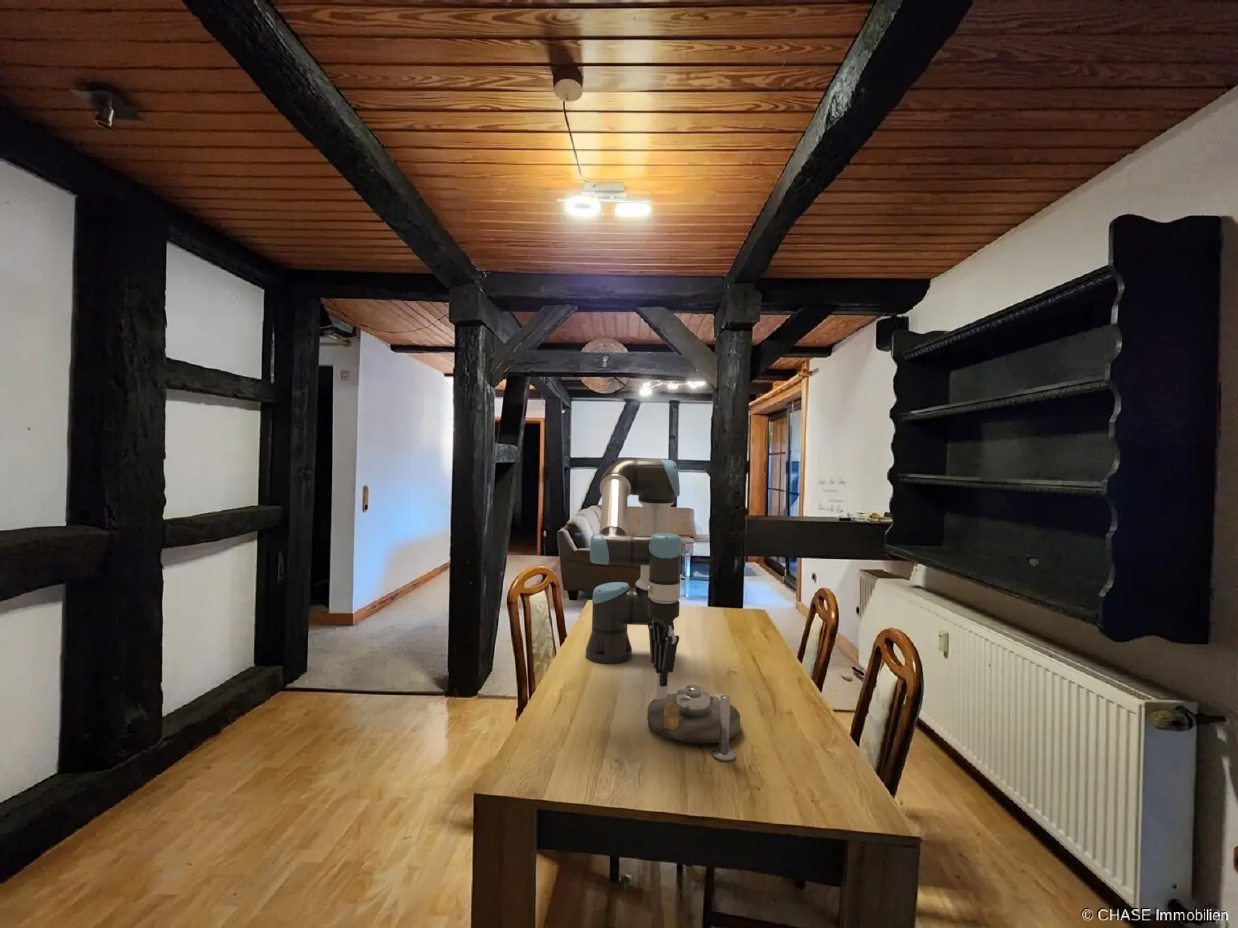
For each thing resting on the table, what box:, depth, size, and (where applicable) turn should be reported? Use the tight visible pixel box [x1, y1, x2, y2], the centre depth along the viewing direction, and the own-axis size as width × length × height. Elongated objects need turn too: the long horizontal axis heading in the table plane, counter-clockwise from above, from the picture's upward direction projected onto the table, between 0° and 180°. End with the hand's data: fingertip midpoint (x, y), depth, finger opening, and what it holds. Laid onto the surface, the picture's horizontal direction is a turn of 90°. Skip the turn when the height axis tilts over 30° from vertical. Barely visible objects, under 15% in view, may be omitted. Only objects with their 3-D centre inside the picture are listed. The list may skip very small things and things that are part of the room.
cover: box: [676, 684, 711, 719], centre depth 134 cm, size 8×8×6 cm
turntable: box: [646, 692, 741, 744], centre depth 133 cm, size 22×22×7 cm
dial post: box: [711, 693, 736, 763], centre depth 120 cm, size 6×5×13 cm
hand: (660, 697), depth 132 cm, fingers closed
